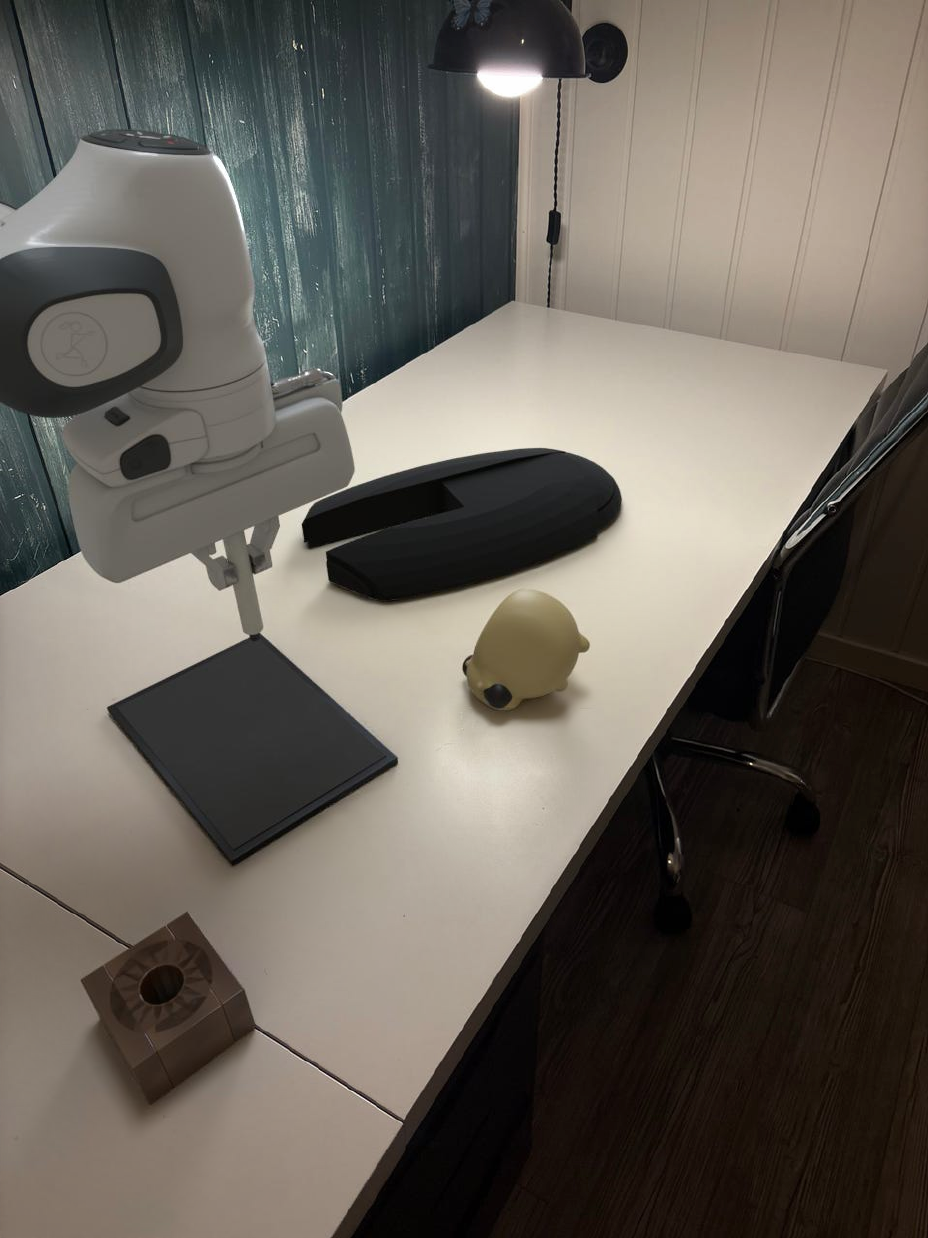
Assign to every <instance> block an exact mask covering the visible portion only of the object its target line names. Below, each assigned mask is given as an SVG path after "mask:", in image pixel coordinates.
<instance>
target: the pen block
mask: <svg viewBox="0 0 928 1238" xmlns="http://www.w3.org/2000/svg"><path fill="white" fill-rule="evenodd" d="M80 984H81V985H82V988H84V990H85V992H86V995H87V996H88V999H89V1000H90V1003H91V1004H92V1006H93V1008H94V1010H95V1012H96V1014H97V1016H98V1017H99V1019H100V1021H101V1023H102V1025H103V1027H104V1029H106V1032H107V1033H108V1035H109V1036H110V1039H111V1040H112V1042H113V1043H114V1045H115V1047H116V1049H117V1051H118V1052H119V1054H120V1055H121V1057H122V1059H123V1061H124V1063H125V1064H126V1067H127V1068H128V1070H129V1072H130V1074H131V1075H132V1077H133V1078H134V1080H135V1082H136V1084H137V1085H138V1088H139V1089H140V1090H141V1092H142V1094H143V1096H144V1097H145V1100H146V1101H147V1103H148V1104H149V1106H150V1105H153V1104H155V1102H157V1101H158V1100H159V1099H161V1098H162V1097H164V1096H165V1095H166V1094H168V1093H170V1092H171V1091H172V1090H173V1089H174V1088H176V1087H178V1086H179V1085H180V1084H182V1083H183V1082H184V1081H186V1080H187V1079H189V1078H190V1077H191V1076H192V1075H194V1074H195V1073H197V1072H198V1071H199V1070H200V1069H202V1068H203V1067H204V1066H206V1065H207V1064H209V1063H210V1062H211V1061H214V1059H216V1058H217V1057H218V1056H219V1055H221V1054H222V1053H223V1052H225V1051H226V1050H227V1049H229V1048H230V1047H232V1046H233V1045H235V1044H236V1043H237V1042H238V1041H239V1040H241V1039H242V1038H244V1037H245V1036H246V1035H248V1034H249V1033H250V1032H251V1031H253V1030H254V1029H256V1028H257V1025H256V1021H255V1018H254V1015H253V1012H252V1009H251V1006H250V1003H249V999H248V995H247V993H246V990H245V989H246V988H245V987H244V986H243V984H241V982H240V981H239V979H238V978H237V976H236V975H235V973H233V971H232V969H230V967H229V965H228V964H227V963H226V961H225V960H224V958H223V957H222V956H221V954H220V953H219V952H218V950H217V949H216V948H215V946H214V944H212V942H211V940H210V939H209V938H208V936H207V935H206V934H205V933H204V931H203V930H202V928H201V927H200V926H199V923H197V921H196V920H195V918H194V917H193V916H192V915H191V913H190V912H189V911H186V912H184V913H183V914H180V916H178V917H176V918H175V919H173V920H171V921H170V922H168V923H167V924H165V925H164V926H162V927H161V928H159V929H157V930H156V931H153V933H151V934H150V935H148V936H146V937H145V938H143V939H141V940H140V941H138V942H136V943H135V944H134V945H132V946H130V947H129V948H128V949H126V950H124V951H123V952H121V953H120V954H118V955H116V956H115V957H113V958H111V959H110V960H108V961H107V962H106V963H104V964H102V965H101V966H99V967H98V968H96V969H95V970H93V971H91V972H90V973H89V974H86V975H85V976H84V977H82V978H81V979H80Z"/></svg>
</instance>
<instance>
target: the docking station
mask: <svg viewBox="0 0 928 1238" xmlns="http://www.w3.org/2000/svg"><path fill="white" fill-rule="evenodd" d="M622 502H623V498H622V493H621V489H620V487H619V485H618V483H617V481H616V480H615V478H614V477H613V476H612V475H611V474H610V472H608V471H607V470H606V469H605V468H604V467H603V466H601V465H600V464H598V463H596V462H594V461H592V459H591V460H590V459H588V458H587V457H584V456H581V455H579V454H575V453H572V452H568V451H566V450H560V449H554V448H547V447H525V448H523V447H522V448H513V449H506V450H505V449H504V450H498V451H490V452H482V453H478V454H477V453H476V454H471V455H465V456H460V457H454V458H450V459H445V460H441V461H435V462H432V463H428V464H427V463H426V464H423V465H419V466H416V467H412V468H408V469H405V470H400V471H397V472H393V473H390V474H387V475H384V476H380V477H378V478H375V479H372V480H369V481H368V480H367V481H365V482H363V483H360V484H357V485H353V486H351V487H348V488H346V489H342V490H340V491H339V492H338V491H337V492H335V493H334V494H330V495H328V496H325V497H323V498H320V499H318V501H317V500H316V502H315V501H314V503H313V504H312V505H311V506H310V508H309V510H308V511H307V513H306V515H305V517H304V519H302V522H301V531H302V537H303V543H307V547H308V550H310V549H315V548H317V547H322V546H324V545H329V544H332V543H336V542H340V541H342V540H347V539H351V538H354V537H358V536H361V535H364V536H361V537H358V538H356V539H354V540H351V541H348V542H345V543H342V544H341V545H338V546H336V547H333V548H332V549H328V550H326V551H325V558H326V561H325V566H326V572H327V578H328V582H330V583H332V584H334V585H336V586H339V587H341V588H344V589H345V590H348V591H351V592H354V593H356V594H358V595H360V596H363V597H365V598H368V599H372V600H375V601H379V602H390V601H397V600H403V599H409V598H415V597H420V596H425V595H429V594H435V593H439V592H443V591H448V590H453V589H457V588H463V587H465V586H468V585H469V586H470V585H472V584H477V583H479V582H483V581H488V580H491V579H494V578H497V577H501V576H505V575H507V574H511V573H513V572H517V571H519V570H523V569H525V568H529V567H531V566H533V565H537V564H540V563H543V562H545V561H547V560H550V559H552V558H555V557H558V556H560V555H562V554H564V553H567V552H570V551H573V550H574V549H577V548H580V547H581V546H583V545H584V544H587V543H588V542H590V541H592V540H594V539H596V538H598V532H599V531H600V530H601V529H603V528H604V527H606V526H608V525H609V524H610V523H611V522H613V521H614V520H615V519H616V518H617V516H618V514H619V513H620V511H621V507H622ZM369 533H370V534H369ZM365 534H367V535H365Z"/></svg>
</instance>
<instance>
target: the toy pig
mask: <svg viewBox="0 0 928 1238" xmlns="http://www.w3.org/2000/svg"><path fill="white" fill-rule="evenodd" d="M590 646H591V643H590V641H589V640H588V638H587V637H585V636H584V634H581V632H580V631H579V628H578V624H577V621H576V620H575V618H574V616H573V614H572V612H571V611H570V610H569V608H568V607H567V606H566V605H565V604H564V603H562V602H561V601H560V600H559V599H557V598H556V597H555V596H553V595H551V594H548V593H546V592H543V591H540V590H537V589H532V588H522V589H518V590H516V591H513V592H512V593H510V594H509V595H507V596H506V598H504V599H503V600H502V601H501V602H500V604H499V605H498V606H497V607H496V609H495V610H494V611H493V613H492V614H491V616H490V617H489V619H488V620H487V622H486V624H485V625H484V627H483V629H482V630H481V632H480V635H479V636H478V639H477V641H476V642H475V646H474V649H473V653H472V654H470V655H468V656H467V657H466V658H465V659H464V661H463V663H462V669H461V670H462V673H463V675H464V676H465V677H466V682H467V685H468V687H469V688H470V690H471V691H472V693H473V694H474V695H475V696H476V697H477V698H478V699H479V701H481V702H482V703H483V704H485V705H486V706H487V707H489V708H491V709H494V710H497V711H510V710H513V709H515V708H516V707H518V706H519V705H520V703H522V701H523V700H526V699H535V698H536V699H537V698H540V697H544V696H546V695H548V694H550V693H552V692H554V691H556V692H559V693H560V692H561V693H562V692H565V691H566V690H567V689H568V686H569V683H568V678H569V677H570V676H571V674H572V672H573V671H574V669H575V667H576V664H577V662H578V659H579V656H580V655H579V654H583V653H586V652H588V651H589V649H590V648H591V647H590Z"/></svg>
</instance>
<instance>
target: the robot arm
mask: <svg viewBox="0 0 928 1238" xmlns="http://www.w3.org/2000/svg"><path fill="white" fill-rule="evenodd" d="M255 294H256V284H255V277H254V272H253V266H252V261H251V255H250V250H249V244H248V240H247V235H246V230H245V226H244V221H243V218H242V213H241V210H240V206H239V203H238V199H237V196H236V193H235V189H234V186H233V184H232V181H231V178H230V176H229V173H228V170H227V169H226V167H225V165H224V163H223V161H222V160H221V158H220V157H219V156H218V155H217V154H216V153H215V152H214V151H212V150H211V148H208V147H207V146H206V145H203V144H202V143H199V142H197V141H195V140H192V139H189V138H187V137H183V136H180V135H175V134H172V133H160V132H156V131H151V130H142V129H126V128H125V129H124V128H122V129H121V128H120V129H119V128H118V129H117V128H116V129H115V128H114V129H102V130H99V131H93V132H91V133H90V134H89V133H88V134H86V135H83V136H82V137H81V138H80V139H79V140H78V144H77V146H76V148H75V151H74V153H73V155H72V157H70V159H69V160H68V162H67V163H66V164H65V166H63V168H62V169H61V170H60V171H59V172H58V174H57V175H56V176H55V177H54V178H53V179H52V180H51V181H50V182H49V183H48V184H47V185H46V186H45V187H44V188H43V189H42V190H41V191H39V192H38V193H37V194H36V195H35V196H33V197H32V198H31V199H30V200H29V201H27V202H26V203H24V204H23V205H22V206H20V207H16V206H15V205H13V204H12V203H10V202H9V201H7V200H5V199H3V198H2V197H0V403H1V404H3V405H4V406H6V407H8V408H10V409H12V410H15V411H17V412H19V413H21V414H25V415H29V416H33V417H38V418H48V419H59V418H69V417H73V418H72V419H70V420H69V421H68V422H67V423H66V424H65V425H64V426H63V428H62V430H61V438H62V441H63V443H64V446H65V448H66V449H67V451H68V452H69V454H70V456H71V457H72V458H73V459H74V461H76V464H75V465H74V466H73V467H72V469H71V472H70V474H69V477H68V484H67V492H68V493H67V495H68V501H69V508H70V514H71V519H72V524H73V527H74V532H75V535H76V539H77V543H78V545H79V550H80V552H81V554H82V556H83V558H84V561H86V563H87V564H88V565H89V567H90V568H91V569H92V570H93V571H94V572H95V573H96V574H97V575H98V576H100V577H101V578H103V579H105V580H107V581H109V582H111V583H113V584H121V583H123V582H126V581H128V580H131V579H132V578H136V577H138V576H140V575H143V574H145V573H147V572H150V571H153V570H154V569H156V568H159V567H161V566H164V565H166V564H169V563H170V562H173V561H176V560H177V559H180V558H182V557H184V556H187V555H190V554H191V555H192V556H193V557H195V558H196V559H197V560H198V561H199V562H201V564H203V565H204V566H205V568H206V569H205V570H206V573H207V577H208V580H209V582H210V583H211V585H212V586H213V587H214V588H215V589H216V590H218V591H219V592H221V591H223V590H225V589H227V588H231V587H233V585H234V584H236V583H237V582H238V580H237V577H236V576H235V574H236V570H235V566H234V565H233V564H232V563H231V562H228V561H227V557H225V556H224V555H220V556H218V557H215V558H212V557H211V556H213V555H216V554H217V547H216V543H217V542H220V541H223V539H225V538H227V537H230V536H232V535H234V534H237V533H239V532H241V531H244V532H245V531H246V530H248V529H251V528H253V531H252V533H251V537H250V541H249V543H247V548H248V553H249V558H250V562H251V567H252V572H253V576H254V575H255V576H256V575H257V574H260V573H262V572H264V571H267V570H269V569H271V568H273V559H272V553H271V550H272V548H273V546H274V542H275V541H276V538H277V535H278V533H279V530H280V528H281V523H280V518H279V516H281V515H284V514H286V513H288V512H290V511H293V510H296V509H298V508H300V507H303V506H305V505H307V504H310V503H312V502H315V501H317V500H320V499H323V498H325V497H327V496H330V495H332V494H333V493H337V492H338V491H342V490H344V489H345V488H347V487H348V486H349V485H350V483H351V481H352V479H353V476H354V474H355V472H356V468H355V467H356V466H355V461H354V460H355V458H354V454H353V449H352V445H351V441H350V437H349V433H348V428H347V426H346V422H345V420H344V417H343V415H342V412H343V399H342V398H343V397H342V388H341V384H340V382H339V380H338V379H337V377H335V375H334V374H332V373H331V372H328V371H321V369H320V368H318V367H314V368H308V369H305V370H303V371H300V373H298V374H295V375H292V376H286V377H282V378H278V379H276V380H272V381H271V378H270V377H271V376H270V370H269V364H268V359H267V353H266V348H265V344H264V342H263V340H262V338H261V336H260V333H259V331H258V330H257V329H258V328H257V326H256V323H255V318H254V304H255V303H254V302H255Z"/></svg>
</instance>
